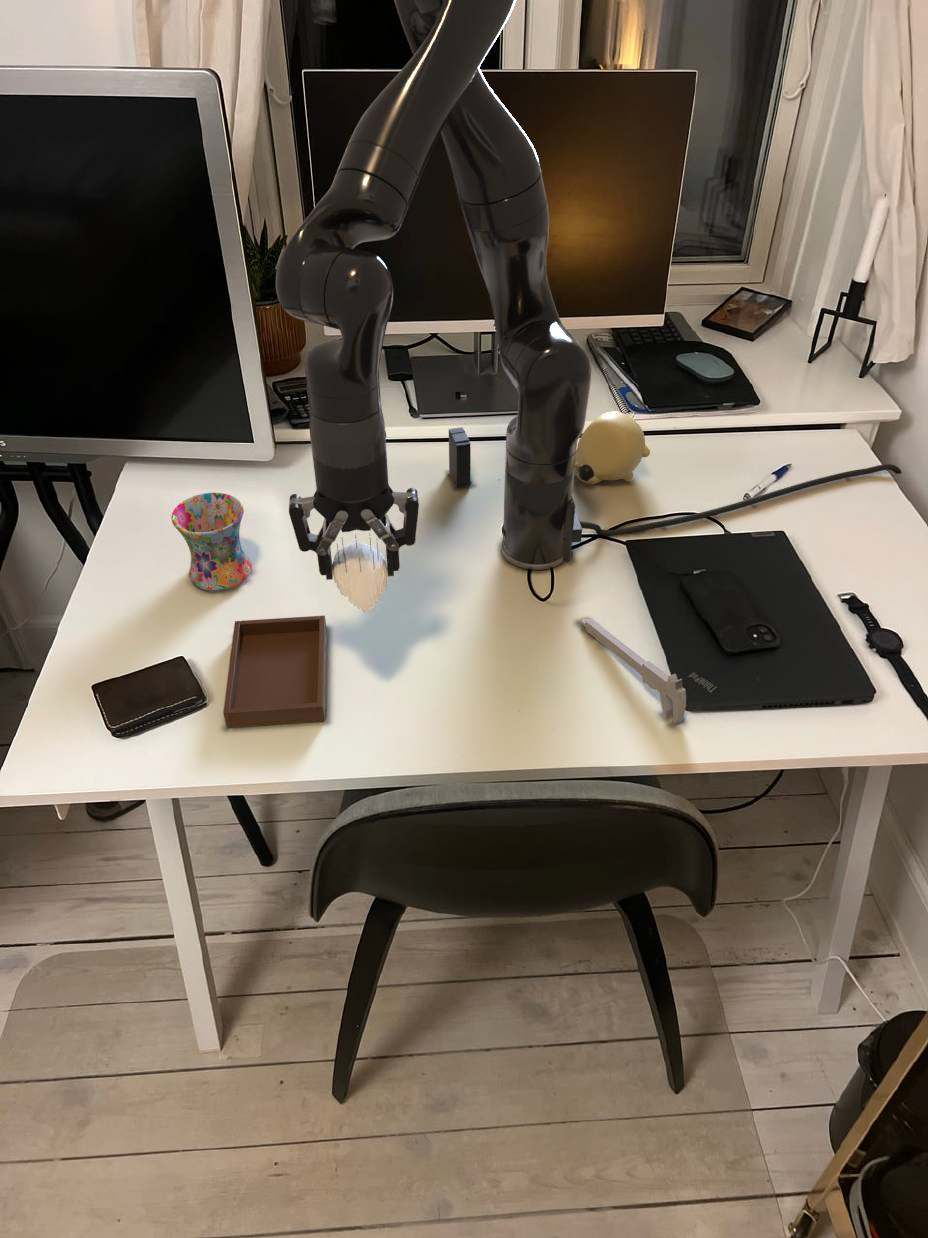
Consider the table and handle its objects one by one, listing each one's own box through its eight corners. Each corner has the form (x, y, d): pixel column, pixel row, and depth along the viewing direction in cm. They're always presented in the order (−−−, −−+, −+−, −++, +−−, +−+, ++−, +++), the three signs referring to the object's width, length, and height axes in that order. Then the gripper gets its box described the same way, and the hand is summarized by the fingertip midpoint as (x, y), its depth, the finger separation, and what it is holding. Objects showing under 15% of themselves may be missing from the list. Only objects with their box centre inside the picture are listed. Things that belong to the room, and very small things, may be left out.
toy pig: (597, 477, 157) (551, 441, 152) (652, 426, 152) (606, 387, 147) (608, 511, 150) (560, 473, 145) (666, 458, 144) (619, 418, 139)
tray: (326, 630, 125) (324, 615, 123) (325, 721, 113) (322, 706, 111) (238, 635, 124) (234, 620, 122) (226, 728, 112) (223, 713, 110)
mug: (253, 594, 130) (240, 531, 123) (183, 598, 129) (166, 535, 122) (258, 540, 139) (247, 478, 132) (193, 544, 138) (178, 482, 131)
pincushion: (329, 550, 113) (325, 510, 109) (381, 544, 114) (378, 505, 110) (338, 617, 104) (333, 576, 100) (394, 610, 105) (391, 570, 101)
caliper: (682, 723, 112) (690, 686, 108) (675, 727, 112) (683, 689, 108) (585, 620, 126) (589, 584, 122) (578, 623, 125) (582, 586, 121)
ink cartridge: (471, 486, 149) (471, 442, 143) (456, 489, 148) (456, 444, 143) (463, 469, 152) (463, 425, 147) (449, 471, 152) (448, 427, 147)
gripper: (275, 469, 94) (295, 599, 105) (422, 461, 95) (426, 590, 106) (278, 429, 100) (297, 556, 111) (417, 422, 101) (421, 549, 112)
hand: (360, 573), depth 108 cm, fingers closed on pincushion, 6 cm apart
